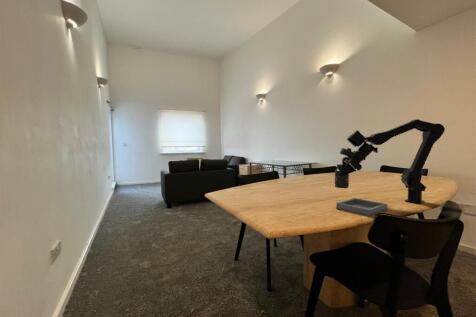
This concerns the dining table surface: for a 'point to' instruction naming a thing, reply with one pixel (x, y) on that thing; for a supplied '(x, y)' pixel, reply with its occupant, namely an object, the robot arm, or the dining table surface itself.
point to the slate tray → (361, 207)
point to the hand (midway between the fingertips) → (338, 174)
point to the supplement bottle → (341, 177)
